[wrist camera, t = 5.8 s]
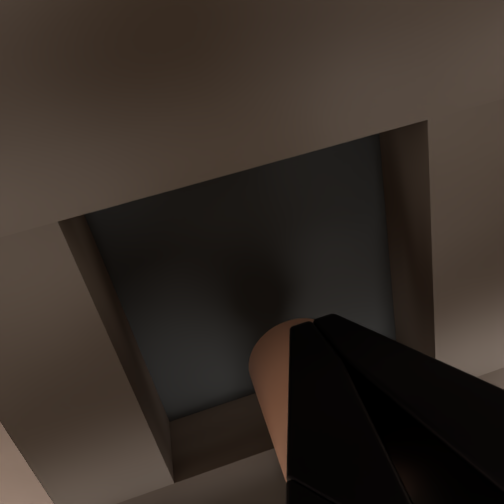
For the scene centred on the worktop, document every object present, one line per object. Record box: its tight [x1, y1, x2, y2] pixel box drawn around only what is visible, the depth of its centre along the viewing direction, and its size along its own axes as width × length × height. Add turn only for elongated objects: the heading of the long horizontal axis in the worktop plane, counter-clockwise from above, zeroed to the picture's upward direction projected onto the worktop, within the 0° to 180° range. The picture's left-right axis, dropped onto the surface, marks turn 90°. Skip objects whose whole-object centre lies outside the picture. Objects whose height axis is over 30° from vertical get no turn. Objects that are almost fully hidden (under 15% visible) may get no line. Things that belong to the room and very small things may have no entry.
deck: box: [0, 0, 504, 504], centre depth 15 cm, size 38×14×2 cm, turn 12°
